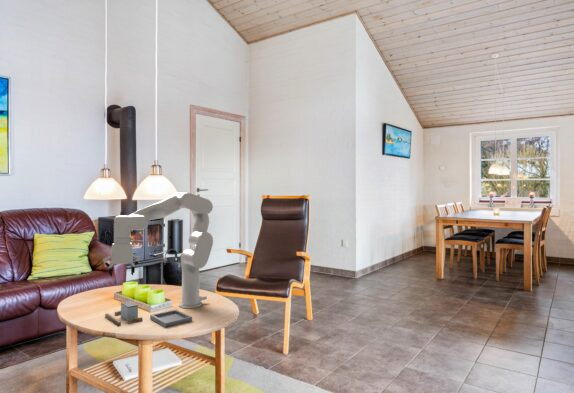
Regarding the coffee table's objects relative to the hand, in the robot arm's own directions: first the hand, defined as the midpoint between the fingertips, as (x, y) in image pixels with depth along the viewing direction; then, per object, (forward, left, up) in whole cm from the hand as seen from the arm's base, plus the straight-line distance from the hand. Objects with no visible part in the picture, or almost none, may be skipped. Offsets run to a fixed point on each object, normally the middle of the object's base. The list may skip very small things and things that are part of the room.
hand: (121, 275), depth 201 cm
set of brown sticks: (-1, 0, -22) cm, 22 cm away
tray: (-18, +17, -22) cm, 33 cm away
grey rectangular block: (-4, 0, -22) cm, 22 cm away
